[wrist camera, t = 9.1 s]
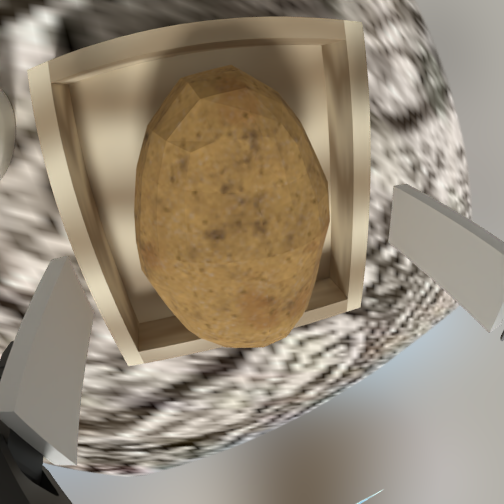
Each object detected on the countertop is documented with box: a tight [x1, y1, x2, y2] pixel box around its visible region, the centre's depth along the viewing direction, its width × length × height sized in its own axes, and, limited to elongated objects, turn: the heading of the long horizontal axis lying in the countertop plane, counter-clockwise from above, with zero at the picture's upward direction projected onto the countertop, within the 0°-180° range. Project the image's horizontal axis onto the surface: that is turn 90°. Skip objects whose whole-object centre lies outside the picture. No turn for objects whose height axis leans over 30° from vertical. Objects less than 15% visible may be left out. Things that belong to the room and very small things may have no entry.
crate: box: [27, 17, 371, 366], centre depth 18 cm, size 19×17×4 cm
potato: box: [134, 65, 330, 348], centre depth 15 cm, size 10×14×8 cm
